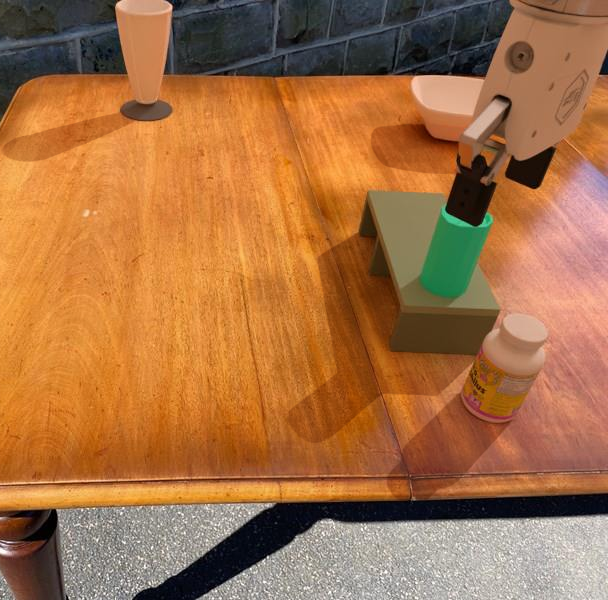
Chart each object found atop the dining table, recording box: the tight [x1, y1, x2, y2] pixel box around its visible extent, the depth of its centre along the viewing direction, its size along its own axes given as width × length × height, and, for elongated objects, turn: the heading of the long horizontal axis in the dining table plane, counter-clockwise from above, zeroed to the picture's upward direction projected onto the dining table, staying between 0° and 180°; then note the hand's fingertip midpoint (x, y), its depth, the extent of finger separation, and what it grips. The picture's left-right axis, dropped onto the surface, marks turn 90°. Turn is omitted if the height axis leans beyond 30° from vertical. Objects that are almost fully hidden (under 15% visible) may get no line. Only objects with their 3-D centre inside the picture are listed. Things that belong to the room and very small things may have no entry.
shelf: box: [357, 189, 502, 356], centre depth 92 cm, size 28×12×8 cm, turn 178°
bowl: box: [409, 74, 485, 142], centre depth 133 cm, size 21×21×9 cm
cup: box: [114, 0, 173, 122], centre depth 132 cm, size 12×12×22 cm
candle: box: [420, 205, 494, 298], centre depth 78 cm, size 6×6×12 cm
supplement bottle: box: [460, 312, 549, 424], centre depth 73 cm, size 7×7×13 cm
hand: (493, 199), depth 55 cm, fingers open, 9 cm apart
